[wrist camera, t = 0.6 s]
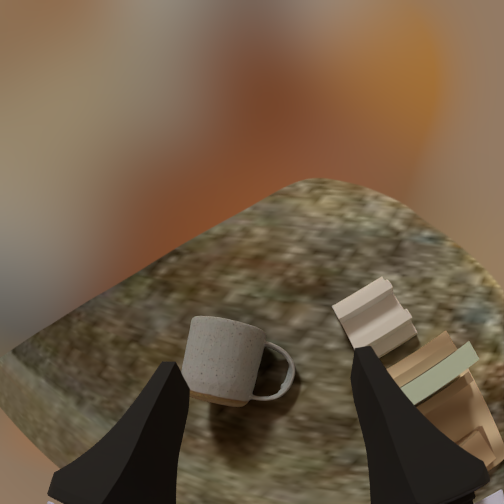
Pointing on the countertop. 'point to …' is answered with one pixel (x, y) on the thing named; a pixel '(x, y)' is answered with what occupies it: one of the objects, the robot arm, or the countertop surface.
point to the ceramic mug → (227, 361)
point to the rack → (449, 396)
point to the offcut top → (478, 447)
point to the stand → (375, 318)
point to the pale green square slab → (440, 374)
